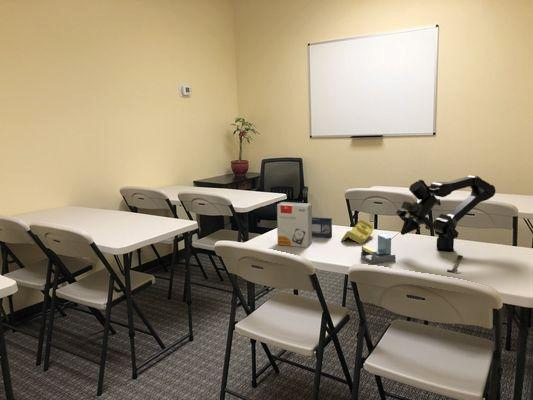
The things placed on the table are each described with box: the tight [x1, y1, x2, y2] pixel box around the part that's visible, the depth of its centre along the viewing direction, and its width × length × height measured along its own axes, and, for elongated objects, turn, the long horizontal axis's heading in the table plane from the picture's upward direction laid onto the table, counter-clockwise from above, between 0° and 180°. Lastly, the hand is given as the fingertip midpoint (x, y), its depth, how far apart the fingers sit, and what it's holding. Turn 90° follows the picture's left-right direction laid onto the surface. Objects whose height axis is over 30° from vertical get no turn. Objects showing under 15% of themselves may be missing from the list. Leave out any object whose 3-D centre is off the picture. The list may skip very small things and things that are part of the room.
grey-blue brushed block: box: [374, 233, 392, 256], centre depth 172 cm, size 6×6×8 cm
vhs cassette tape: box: [312, 216, 333, 239], centre depth 210 cm, size 18×3×10 cm, turn 70°
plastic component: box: [341, 219, 375, 244], centre depth 205 cm, size 20×7×10 cm
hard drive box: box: [276, 201, 313, 248], centre depth 196 cm, size 16×8×20 cm, turn 68°
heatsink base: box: [360, 245, 397, 265], centre depth 172 cm, size 11×9×5 cm
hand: (401, 234), depth 174 cm, fingers closed
